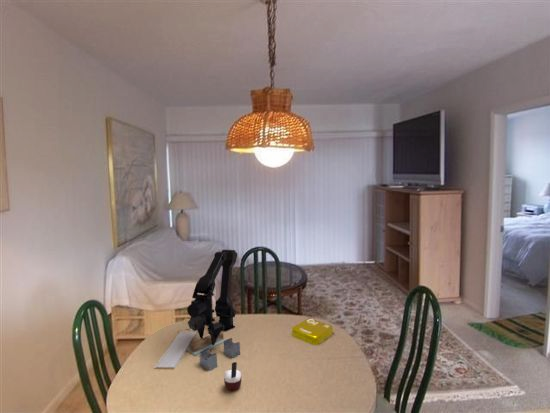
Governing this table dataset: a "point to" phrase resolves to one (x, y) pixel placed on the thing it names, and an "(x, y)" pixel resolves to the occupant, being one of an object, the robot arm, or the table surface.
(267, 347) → the table surface
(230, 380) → the cupcake
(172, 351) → the baseboard
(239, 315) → the table surface
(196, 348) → the rail
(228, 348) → the grey block
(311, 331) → the element tile
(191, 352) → the mat
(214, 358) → the grey notched block
